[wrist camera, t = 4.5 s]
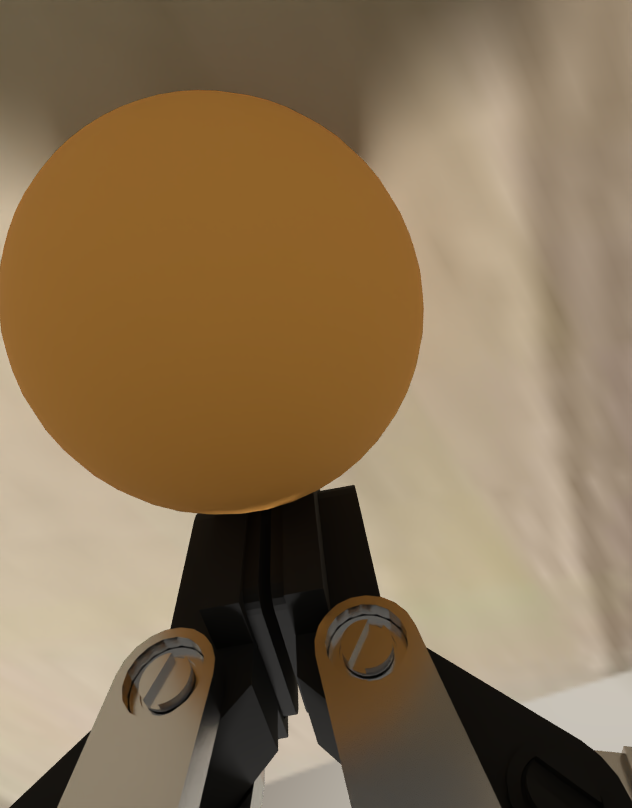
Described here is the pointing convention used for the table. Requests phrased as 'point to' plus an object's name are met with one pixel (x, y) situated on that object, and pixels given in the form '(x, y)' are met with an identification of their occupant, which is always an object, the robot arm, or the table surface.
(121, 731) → the robot arm
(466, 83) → the table surface
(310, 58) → the table surface
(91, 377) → the ball
